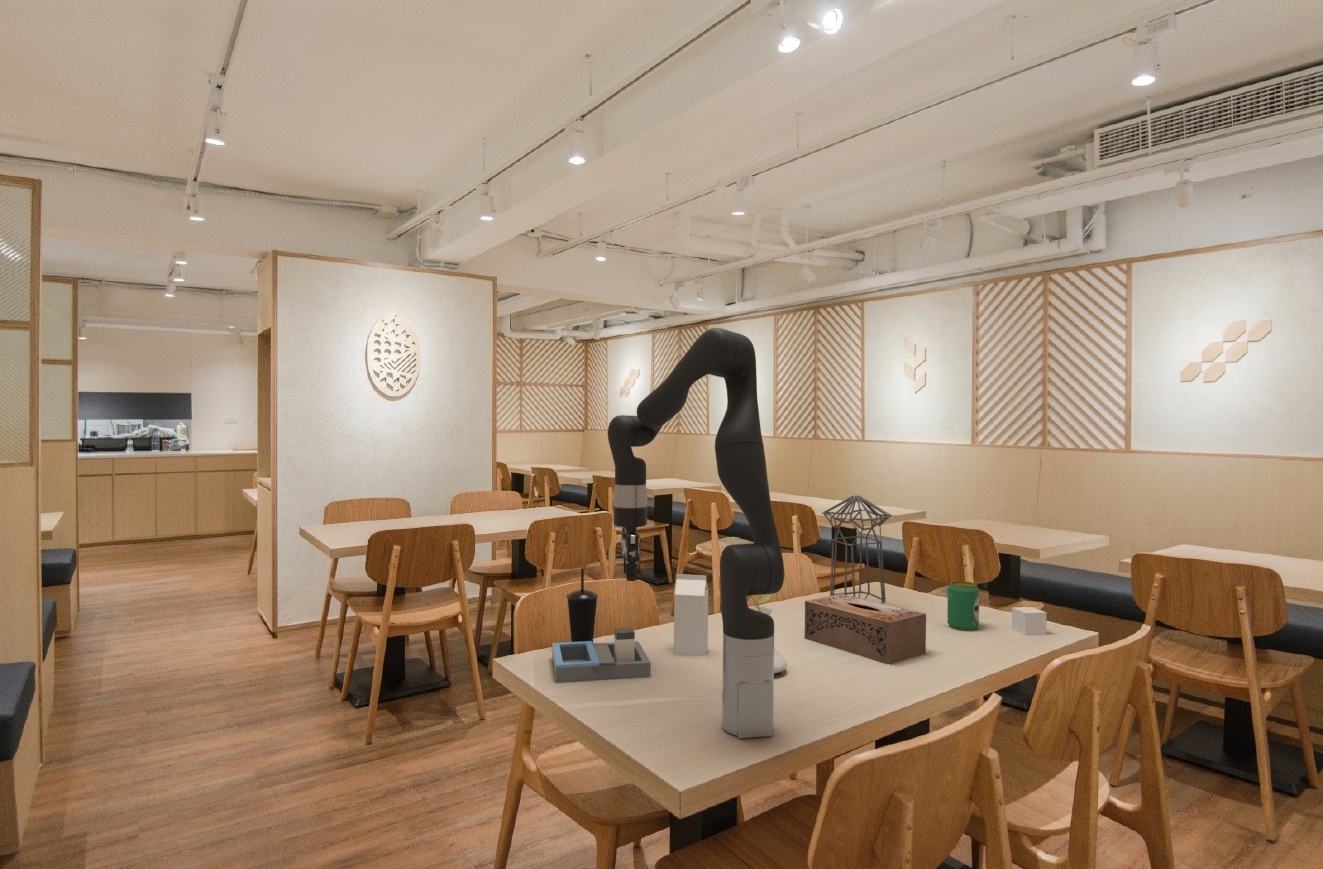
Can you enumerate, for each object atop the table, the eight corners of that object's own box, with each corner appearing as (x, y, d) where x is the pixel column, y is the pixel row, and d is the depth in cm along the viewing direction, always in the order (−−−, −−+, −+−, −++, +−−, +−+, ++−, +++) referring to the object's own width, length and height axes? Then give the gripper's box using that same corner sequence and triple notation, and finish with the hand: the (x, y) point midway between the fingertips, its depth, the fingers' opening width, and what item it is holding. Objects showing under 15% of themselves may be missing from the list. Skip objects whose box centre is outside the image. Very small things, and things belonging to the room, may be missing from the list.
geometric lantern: (895, 619, 209) (895, 497, 208) (846, 624, 205) (845, 499, 204) (866, 605, 224) (865, 491, 223) (819, 609, 220) (818, 493, 219)
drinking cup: (559, 653, 176) (560, 570, 176) (577, 644, 182) (578, 564, 182) (586, 658, 172) (586, 573, 172) (603, 649, 179) (604, 567, 179)
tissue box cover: (925, 654, 177) (926, 613, 177) (888, 665, 169) (889, 622, 169) (841, 630, 198) (841, 593, 198) (804, 639, 189) (805, 600, 189)
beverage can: (976, 633, 195) (976, 588, 195) (944, 628, 200) (945, 584, 199) (980, 626, 202) (981, 582, 202) (950, 622, 206) (950, 579, 206)
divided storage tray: (650, 681, 157) (650, 659, 156) (556, 687, 153) (556, 665, 153) (638, 658, 172) (638, 638, 172) (552, 662, 168) (552, 642, 168)
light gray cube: (1032, 628, 200) (1032, 606, 200) (1046, 635, 194) (1046, 612, 194) (1011, 629, 200) (1012, 607, 199) (1024, 635, 194) (1025, 612, 194)
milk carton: (703, 659, 172) (704, 578, 171) (673, 657, 173) (674, 577, 173) (707, 650, 178) (708, 572, 178) (679, 648, 180) (679, 571, 180)
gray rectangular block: (634, 668, 162) (634, 632, 162) (616, 669, 161) (616, 633, 161) (631, 662, 166) (631, 627, 166) (614, 663, 165) (614, 628, 165)
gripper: (650, 508, 157) (650, 583, 158) (643, 501, 172) (643, 570, 172) (615, 508, 157) (615, 583, 157) (611, 501, 171) (611, 570, 171)
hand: (629, 576), depth 164 cm, fingers open, 8 cm apart
